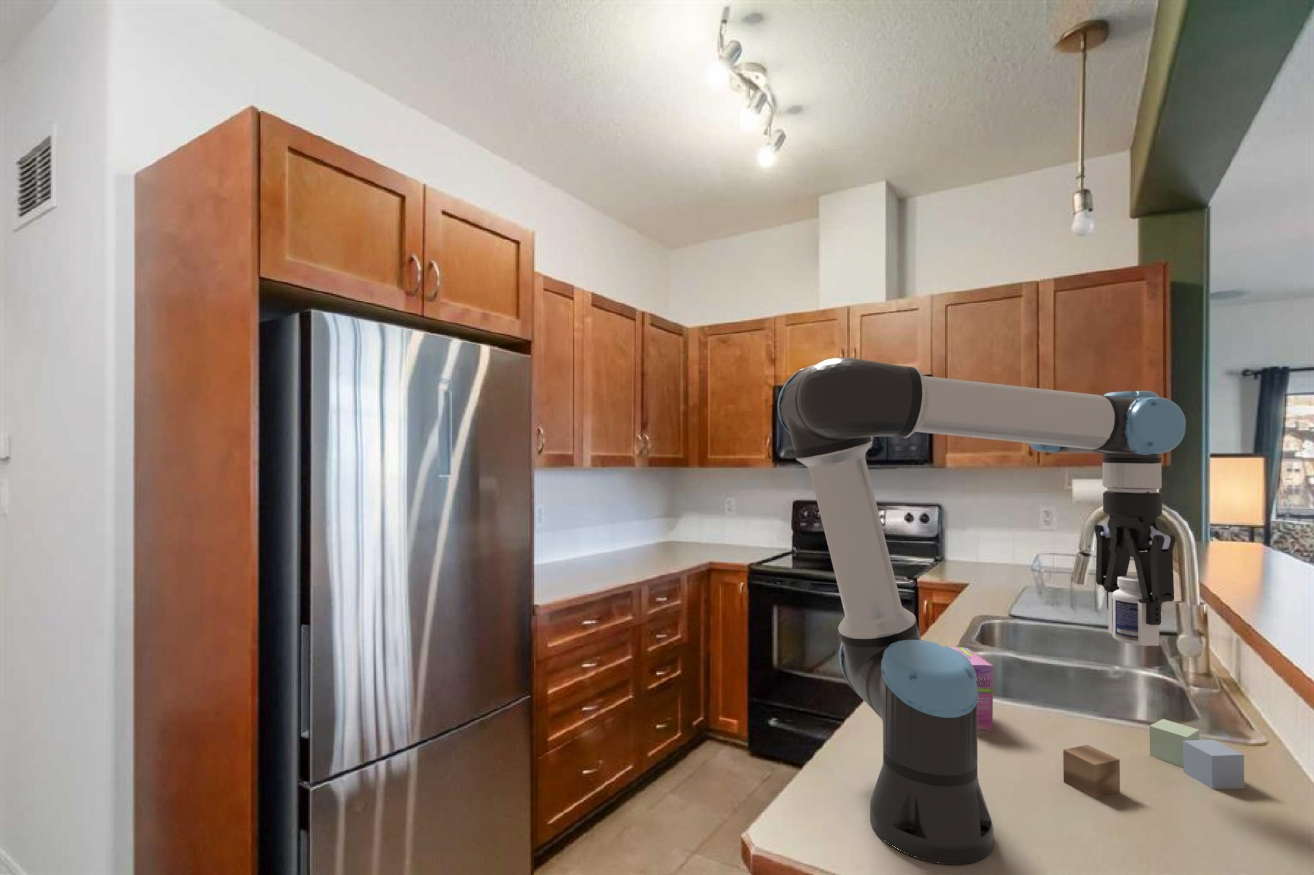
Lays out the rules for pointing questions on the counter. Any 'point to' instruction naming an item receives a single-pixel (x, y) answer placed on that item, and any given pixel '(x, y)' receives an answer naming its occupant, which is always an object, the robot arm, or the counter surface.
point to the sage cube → (1170, 740)
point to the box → (981, 688)
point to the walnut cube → (1091, 771)
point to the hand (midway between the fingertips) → (1133, 638)
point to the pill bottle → (1126, 610)
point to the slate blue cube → (1213, 764)
